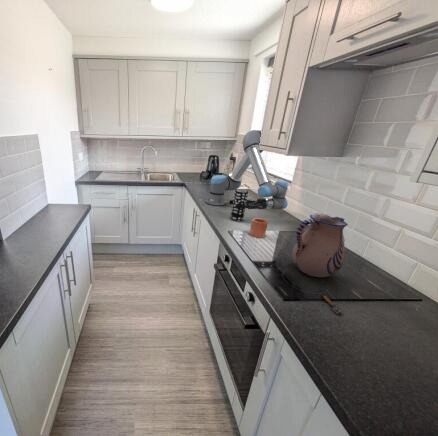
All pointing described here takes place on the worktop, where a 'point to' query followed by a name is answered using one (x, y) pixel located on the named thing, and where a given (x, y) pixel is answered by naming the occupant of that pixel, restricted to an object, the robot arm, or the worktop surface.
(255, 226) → the cup
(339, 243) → the ceramic pitcher
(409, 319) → the worktop surface
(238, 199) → the spotted tube
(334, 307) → the can opener
